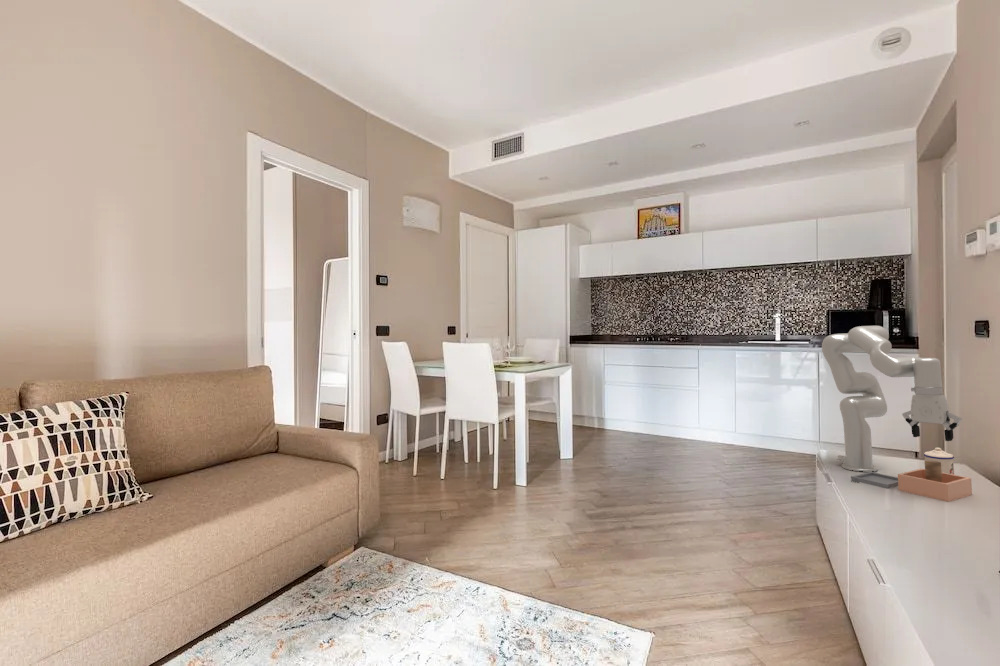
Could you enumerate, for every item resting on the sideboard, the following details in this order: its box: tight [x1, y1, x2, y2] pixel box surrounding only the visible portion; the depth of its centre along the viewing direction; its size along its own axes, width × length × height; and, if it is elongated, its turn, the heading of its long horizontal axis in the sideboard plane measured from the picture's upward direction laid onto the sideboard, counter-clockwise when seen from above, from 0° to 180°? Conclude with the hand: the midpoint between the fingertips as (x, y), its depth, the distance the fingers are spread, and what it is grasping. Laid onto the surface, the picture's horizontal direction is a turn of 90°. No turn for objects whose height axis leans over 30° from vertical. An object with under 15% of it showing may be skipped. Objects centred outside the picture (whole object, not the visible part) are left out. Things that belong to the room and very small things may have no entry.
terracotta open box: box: [897, 468, 973, 503], centre depth 175 cm, size 15×15×6 cm
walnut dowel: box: [924, 460, 942, 482], centre depth 175 cm, size 4×4×11 cm
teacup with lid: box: [923, 447, 955, 475], centre depth 196 cm, size 12×9×12 cm
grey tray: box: [850, 471, 898, 489], centre depth 190 cm, size 13×13×2 cm
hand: (932, 438), depth 175 cm, fingers open, 9 cm apart
